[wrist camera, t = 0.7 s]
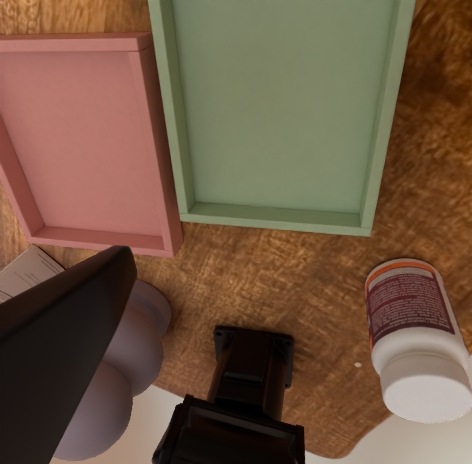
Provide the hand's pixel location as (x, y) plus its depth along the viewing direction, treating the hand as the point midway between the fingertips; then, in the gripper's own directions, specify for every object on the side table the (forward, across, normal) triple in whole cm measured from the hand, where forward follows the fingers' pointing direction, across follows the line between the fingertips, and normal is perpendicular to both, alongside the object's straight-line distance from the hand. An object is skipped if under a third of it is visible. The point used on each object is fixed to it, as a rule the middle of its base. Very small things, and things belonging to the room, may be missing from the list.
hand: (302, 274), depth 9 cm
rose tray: (+13, +14, +2) cm, 20 cm away
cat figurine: (+14, +14, +16) cm, 26 cm away
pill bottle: (+14, -6, +11) cm, 19 cm away
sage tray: (+13, +2, 0) cm, 13 cm away
